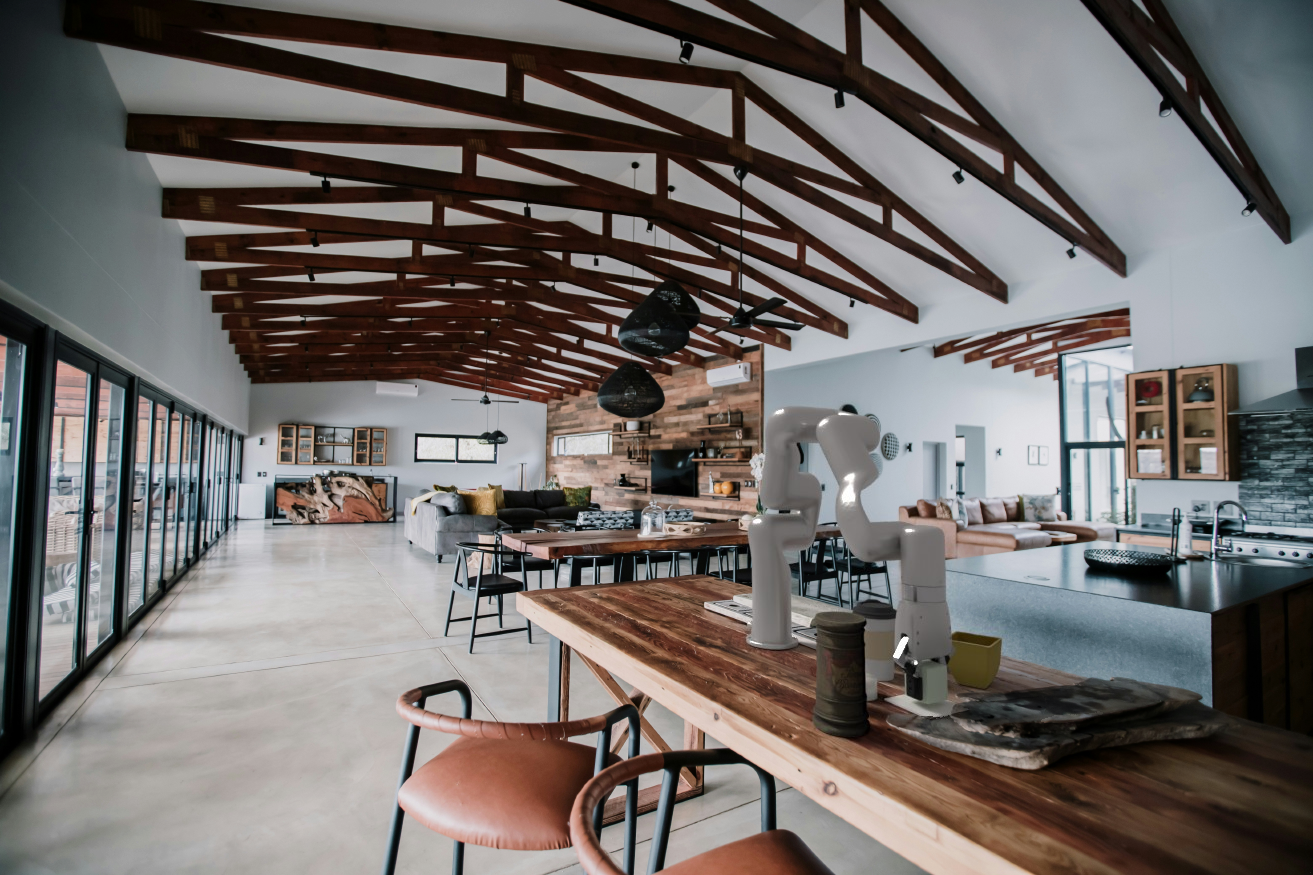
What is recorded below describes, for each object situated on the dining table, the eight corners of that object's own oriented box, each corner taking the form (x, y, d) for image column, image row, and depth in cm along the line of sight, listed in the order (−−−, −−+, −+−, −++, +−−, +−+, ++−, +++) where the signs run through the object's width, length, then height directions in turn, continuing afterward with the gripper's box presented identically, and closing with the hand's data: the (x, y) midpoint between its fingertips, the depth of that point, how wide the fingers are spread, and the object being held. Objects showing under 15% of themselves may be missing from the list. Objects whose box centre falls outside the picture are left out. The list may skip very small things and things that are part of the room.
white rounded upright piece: (837, 692, 117) (836, 674, 117) (860, 688, 119) (860, 669, 120) (860, 703, 111) (859, 683, 112) (884, 698, 114) (884, 679, 114)
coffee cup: (903, 684, 121) (901, 607, 122) (855, 681, 123) (854, 605, 124) (895, 670, 130) (893, 598, 131) (850, 667, 132) (849, 596, 133)
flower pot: (943, 684, 121) (942, 638, 122) (957, 673, 128) (956, 630, 128) (992, 695, 115) (990, 646, 116) (1004, 683, 122) (1002, 637, 122)
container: (802, 720, 103) (801, 612, 104) (844, 712, 107) (843, 608, 108) (837, 741, 95) (836, 624, 96) (882, 732, 99) (880, 619, 100)
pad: (884, 700, 113) (884, 698, 113) (923, 691, 117) (923, 690, 117) (929, 719, 104) (929, 718, 104) (969, 710, 108) (969, 708, 108)
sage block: (905, 694, 112) (904, 661, 112) (924, 690, 114) (923, 658, 114) (927, 704, 107) (927, 669, 107) (947, 699, 109) (946, 665, 110)
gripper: (938, 586, 119) (940, 682, 117) (873, 593, 111) (875, 695, 110) (973, 593, 112) (976, 695, 111) (906, 601, 104) (908, 710, 103)
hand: (925, 694), depth 110 cm, fingers closed on sage block, 4 cm apart
